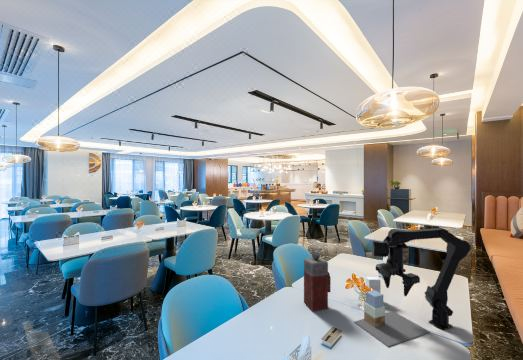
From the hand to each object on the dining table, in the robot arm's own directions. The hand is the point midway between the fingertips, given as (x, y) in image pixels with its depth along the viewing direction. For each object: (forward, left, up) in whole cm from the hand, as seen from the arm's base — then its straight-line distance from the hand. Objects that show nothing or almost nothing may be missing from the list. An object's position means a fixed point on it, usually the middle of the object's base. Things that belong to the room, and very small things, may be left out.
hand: (396, 291), depth 115 cm
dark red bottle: (+25, -25, -13) cm, 38 cm away
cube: (+11, -2, -5) cm, 12 cm away
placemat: (+7, +3, -13) cm, 15 cm away
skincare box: (-5, -18, -13) cm, 23 cm away
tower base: (+11, -2, -13) cm, 17 cm away
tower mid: (+11, -2, -9) cm, 14 cm away
